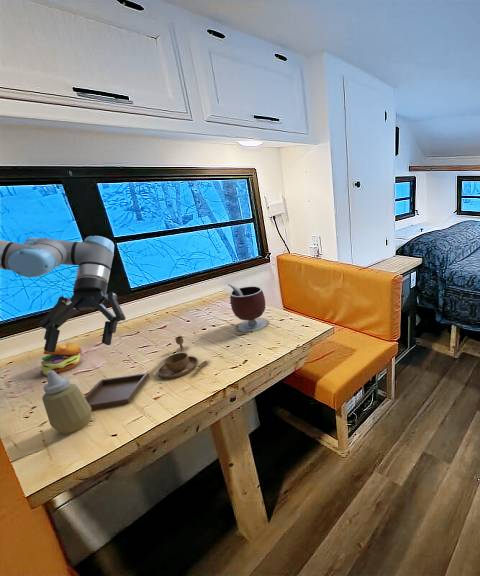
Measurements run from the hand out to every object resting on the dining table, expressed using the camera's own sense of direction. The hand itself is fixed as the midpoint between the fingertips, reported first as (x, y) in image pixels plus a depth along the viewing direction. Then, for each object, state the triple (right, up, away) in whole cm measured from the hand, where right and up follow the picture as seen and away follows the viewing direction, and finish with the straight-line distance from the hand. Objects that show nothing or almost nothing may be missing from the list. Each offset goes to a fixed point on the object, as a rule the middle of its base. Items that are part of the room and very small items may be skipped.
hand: (78, 347), depth 87 cm
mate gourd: (+27, 0, +52) cm, 58 cm away
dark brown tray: (+3, -17, +9) cm, 19 cm away
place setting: (+15, -11, +25) cm, 31 cm away
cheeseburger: (-29, -12, +24) cm, 40 cm away
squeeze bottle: (+3, -21, -3) cm, 22 cm away
